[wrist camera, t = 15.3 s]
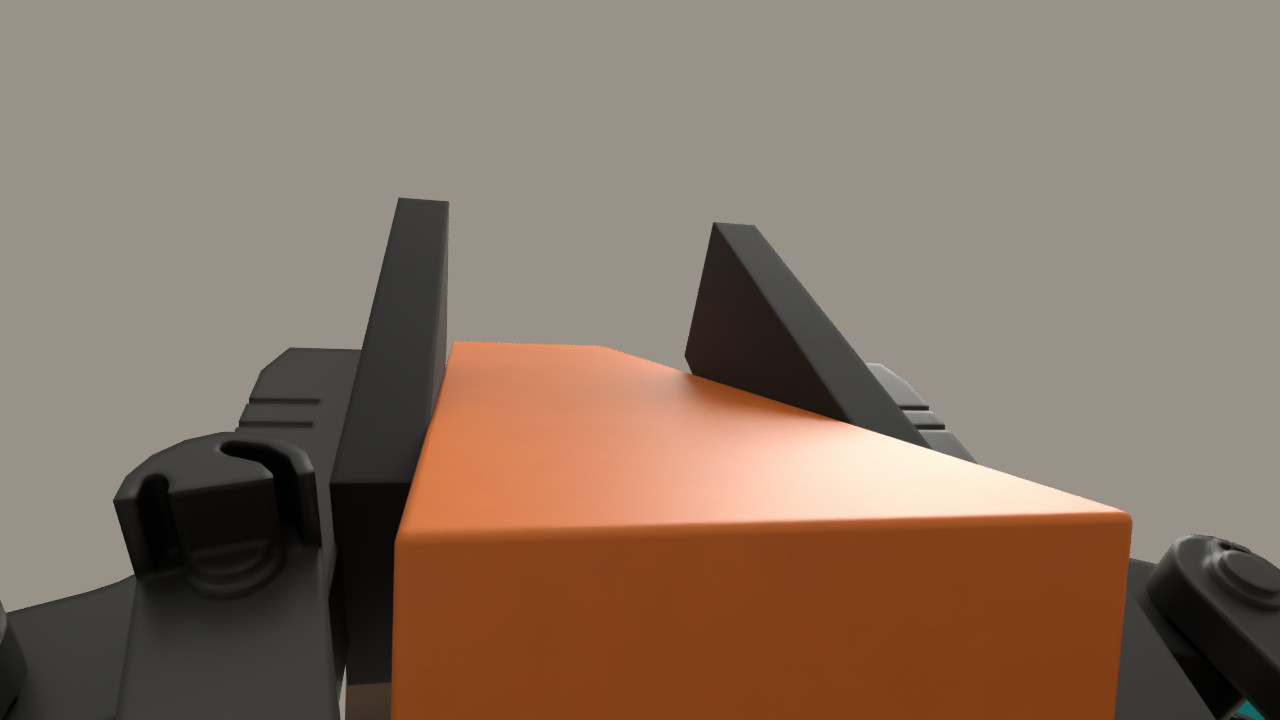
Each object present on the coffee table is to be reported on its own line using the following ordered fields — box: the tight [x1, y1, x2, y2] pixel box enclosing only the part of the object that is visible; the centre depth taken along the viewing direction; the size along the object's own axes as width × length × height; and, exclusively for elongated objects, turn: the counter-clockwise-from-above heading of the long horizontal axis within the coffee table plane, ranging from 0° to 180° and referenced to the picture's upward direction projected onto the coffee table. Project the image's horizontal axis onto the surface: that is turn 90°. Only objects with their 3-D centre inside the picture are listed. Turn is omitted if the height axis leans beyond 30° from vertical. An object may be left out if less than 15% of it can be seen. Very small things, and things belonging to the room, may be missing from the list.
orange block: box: [391, 341, 1132, 720], centre depth 13 cm, size 18×4×2 cm, turn 14°
